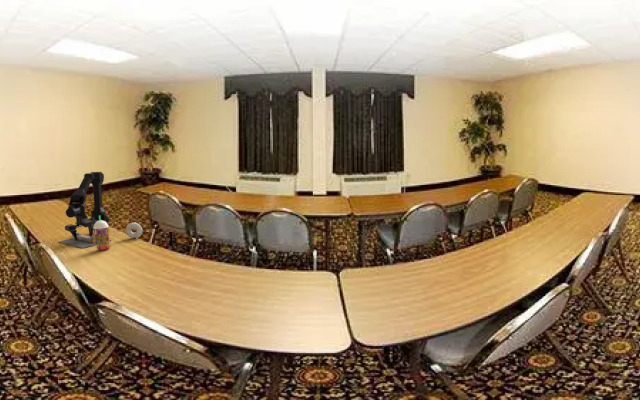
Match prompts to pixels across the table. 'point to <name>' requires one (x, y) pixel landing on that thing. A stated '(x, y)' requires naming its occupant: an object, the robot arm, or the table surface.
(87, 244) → the rubber mat
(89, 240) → the tong moving arm
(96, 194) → the robot arm
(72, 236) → the tong fixed arm
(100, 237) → the smoothie
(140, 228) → the donut
